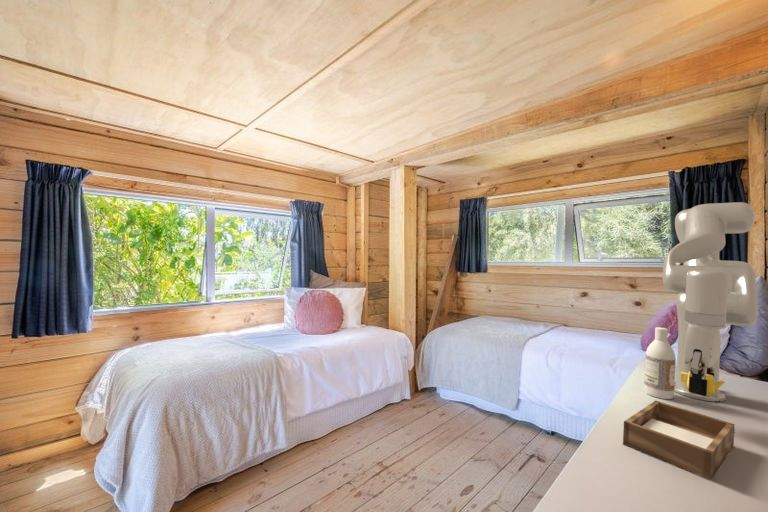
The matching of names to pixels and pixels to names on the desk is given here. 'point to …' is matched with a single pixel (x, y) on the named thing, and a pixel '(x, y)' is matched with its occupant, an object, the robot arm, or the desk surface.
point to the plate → (678, 433)
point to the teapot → (710, 383)
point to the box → (678, 450)
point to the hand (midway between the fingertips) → (701, 389)
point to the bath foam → (660, 366)
